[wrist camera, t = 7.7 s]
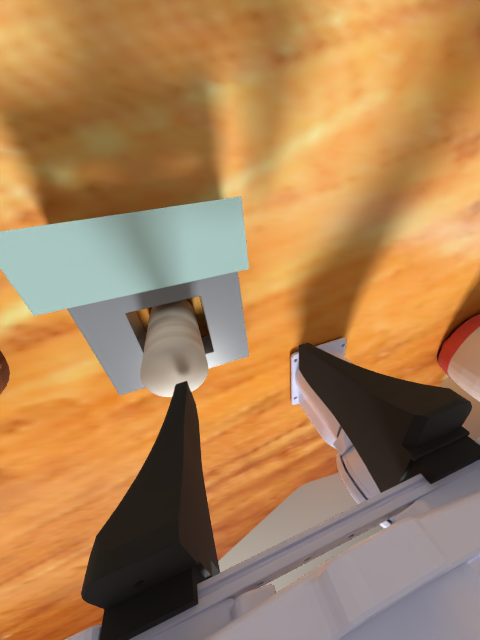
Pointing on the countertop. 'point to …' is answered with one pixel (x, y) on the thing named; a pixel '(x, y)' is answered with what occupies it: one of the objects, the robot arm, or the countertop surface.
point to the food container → (3, 373)
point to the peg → (173, 349)
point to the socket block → (136, 277)
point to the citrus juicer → (463, 356)
